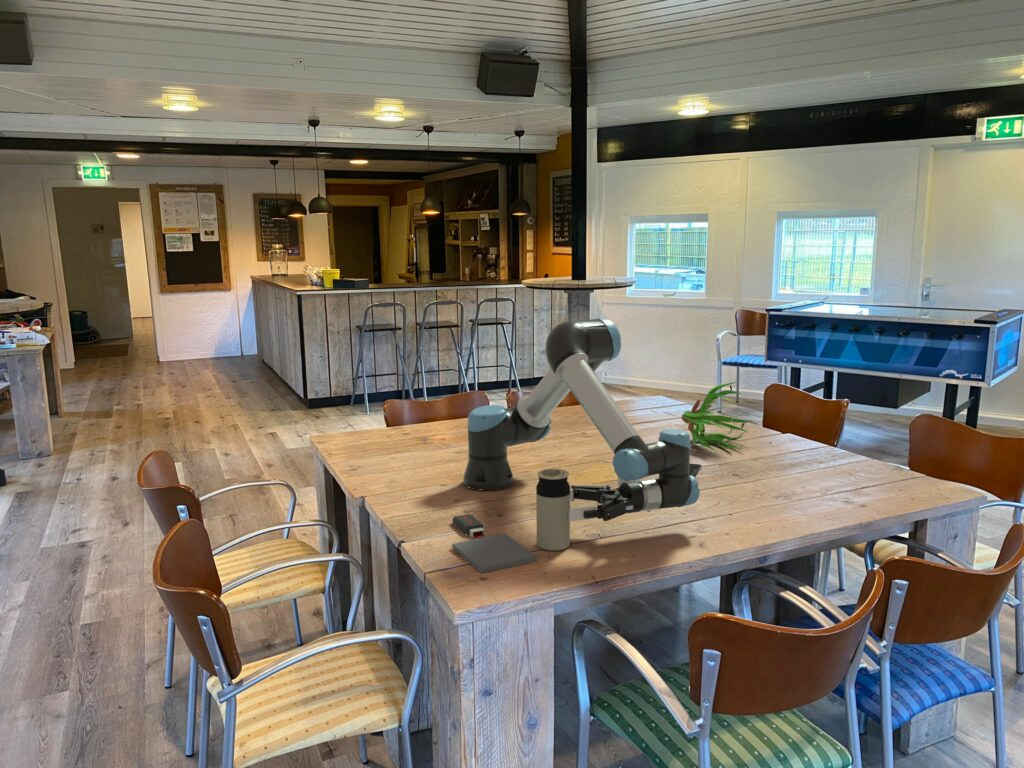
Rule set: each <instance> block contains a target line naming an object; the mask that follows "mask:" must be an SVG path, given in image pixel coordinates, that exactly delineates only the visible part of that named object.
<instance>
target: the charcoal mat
mask: <svg viewBox="0 0 1024 768" xmlns="http://www.w3.org/2000/svg"><path fill="white" fill-rule="evenodd" d="M452 548H453V549H454V550H453V549H452V550H453V551H455V552H456V554H458V553H459V554H460V555H459V554H458V555H459V556H460V557H462V558H463V559H464V560H465V561H466V560H467V561H466V562H467V563H469V564H470V565H471V566H472V567H473V568H475V569H476V570H477V571H478V572H479V573H480V574H484V573H488V572H492V571H496V570H500V569H505V568H510V567H515V566H519V565H522V564H527V563H532V562H537V561H538V560H537V554H535V553H534V552H532V551H531V550H529V549H528V548H526V547H525V546H523V545H522V544H521V543H519V542H518V541H517V540H515V539H513V538H512V537H511V536H509V535H508V534H506V533H505V532H503V533H499V534H493V535H490V536H489V535H488V536H482V537H478V538H473V539H468V540H465V541H460V542H455V543H454V542H453V543H452Z"/></svg>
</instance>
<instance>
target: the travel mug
mask: <svg viewBox="0 0 1024 768" xmlns="http://www.w3.org/2000/svg"><path fill="white" fill-rule="evenodd" d="M536 474H537V476H538V480H539V481H537V484H536V488H535V490H536V495H535V496H536V498H535V499H536V501H535V502H536V505H535V506H536V546H537V547H538V548H540V549H542V550H544V551H550V552H557V551H562V550H565V549H568V548H569V547H570V546H571V521H569V509H571V501H570V489H571V486H570V484H569V482H568V478H569V475H570V473H569V472H568V471H567V470H565V469H559V468H545V469H541V470H539V471H537V473H536Z"/></svg>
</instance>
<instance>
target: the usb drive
mask: <svg viewBox="0 0 1024 768" xmlns="http://www.w3.org/2000/svg"><path fill="white" fill-rule="evenodd" d="M453 523H454V524H455V525H456V526H457V527H458V528H459V529H460V530H461V531H462V532H463V533H464V534H463V533H462V532H461V531H460V530H459V529H458V528H457V527H456V526H455V525H454V524H453ZM452 524H453V525H454V526H455V527H456V528H457V529H458V530H459V531H460V532H461V533H462V534H463V535H465V534H467V535H466V536H468V535H469V536H470V537H471V538H472V537H475V538H480V537H479V536H481V537H485V536H486V530H485V529H484V524H483V523H482V522H481V521H480V520H478V519H477V518H476V517H475V516H473V514H470V513H468V514H461V515H455V516H453V517H452ZM484 535H485V536H484Z"/></svg>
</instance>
